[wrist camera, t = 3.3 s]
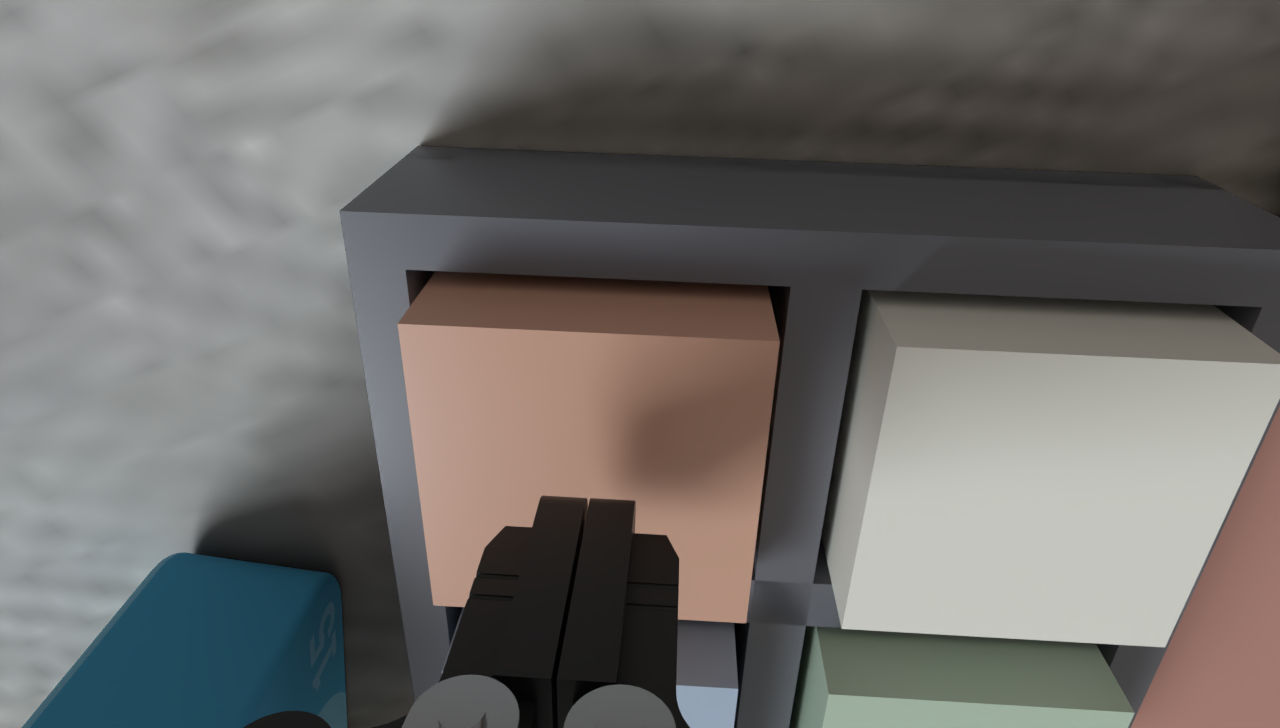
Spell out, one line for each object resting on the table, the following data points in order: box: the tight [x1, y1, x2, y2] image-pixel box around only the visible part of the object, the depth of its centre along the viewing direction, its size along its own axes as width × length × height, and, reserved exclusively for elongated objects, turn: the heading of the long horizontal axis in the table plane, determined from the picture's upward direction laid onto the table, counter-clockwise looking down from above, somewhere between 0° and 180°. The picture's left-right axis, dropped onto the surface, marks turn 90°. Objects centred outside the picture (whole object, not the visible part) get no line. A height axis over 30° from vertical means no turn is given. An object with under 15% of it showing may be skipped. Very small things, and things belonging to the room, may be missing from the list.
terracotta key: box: [398, 271, 780, 623], centre depth 16 cm, size 6×6×4 cm
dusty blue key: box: [442, 607, 738, 728], centre depth 20 cm, size 6×6×4 cm
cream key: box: [821, 290, 1280, 647], centre depth 16 cm, size 6×6×4 cm
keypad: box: [340, 146, 1280, 728], centre depth 19 cm, size 16×16×4 cm
